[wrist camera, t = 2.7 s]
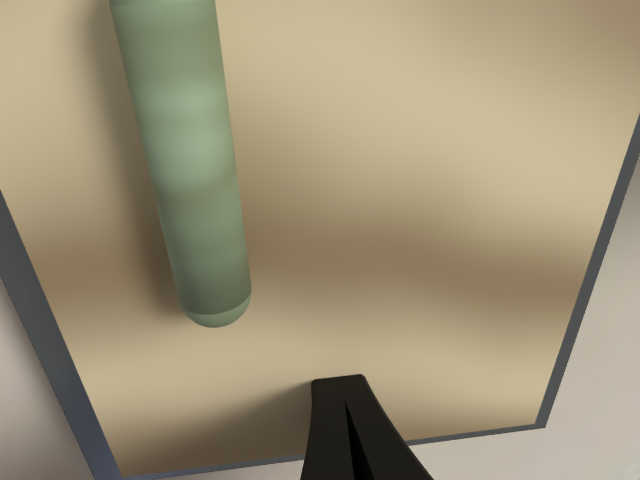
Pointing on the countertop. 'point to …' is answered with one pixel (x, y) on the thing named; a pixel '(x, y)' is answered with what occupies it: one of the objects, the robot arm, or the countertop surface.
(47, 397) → the countertop surface
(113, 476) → the base
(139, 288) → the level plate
